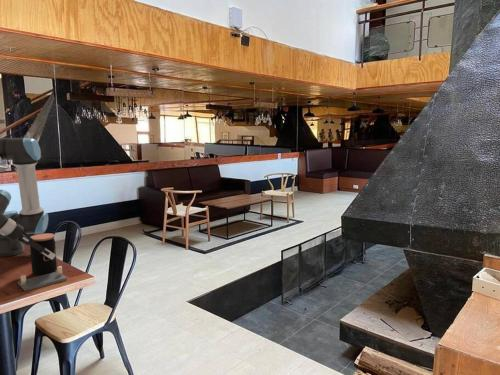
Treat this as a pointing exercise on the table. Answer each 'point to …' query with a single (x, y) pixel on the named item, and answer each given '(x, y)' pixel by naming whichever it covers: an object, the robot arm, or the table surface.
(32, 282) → the peg board
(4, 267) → the table surface
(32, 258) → the coffee jar
